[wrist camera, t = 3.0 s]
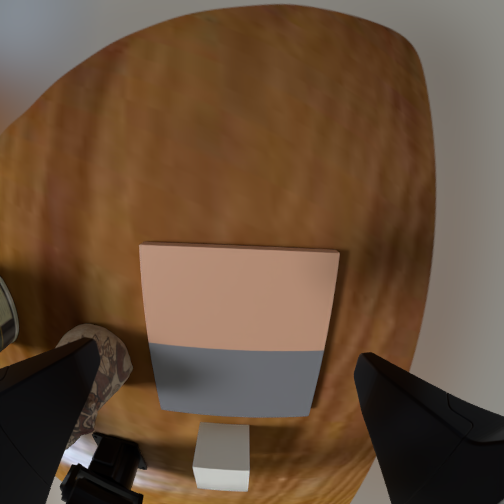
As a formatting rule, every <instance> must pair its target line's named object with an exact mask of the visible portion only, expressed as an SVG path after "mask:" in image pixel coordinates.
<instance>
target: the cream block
mask: <svg viewBox="0 0 504 504" xmlns="http://www.w3.org/2000/svg"><path fill="white" fill-rule="evenodd" d="M193 471H194V475H195V479H196V483H197V487H198V488H201V489H211V490H224V491H248V483H249V472H250V454H249V425H235V424H217V423H205V422H200V426H199V432H198V437H197V443H196V449H195V455H194V461H193Z"/></svg>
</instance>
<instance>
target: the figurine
mask: <svg viewBox="0 0 504 504" xmlns="http://www.w3.org/2000/svg"><path fill="white" fill-rule="evenodd" d="M83 337H88V338H93V339H95V340H96V342H97V346H98V350H99V354H100V358H101V363H100V366H99V369H98V372H97V374H96V377H95V380H94V383H93V386H92V389H91V392H90V394H89V397H88V399H87V401H86V403H85V406H84V408H83V410H82V412H81V414H80V416H79V419H78V421H77V423H76V425H75V428H74V430H73V432H72V435H71V437H70V439H69V442H68V444H67V446H66V449H68V448H69V447H70V446H71V445H73V444H74V443H75V442H76V440H78V439H79V438H80V436H81V435H84V434H88V433H90V432H92V431H93V430H94V425H95V424H94V422H95V420H96V416H97V411H98V410H99V409H100V408H101V407H102V406H103V405H104V404H105V403H106V402H107V401H108V400H109V399H110V398H111V397H112V396H113V395H114V393H116V392H117V391H118V390H119V389H120V387H121V386H122V385H123V384H124V382H125V381H126V380H127V379H128V378H129V375H130V373H131V372H132V369H133V366H132V363H131V360H130V356H129V354H128V350H127V348H126V346H125V344H124V343H123V342H122V341H121V340H120V338H118V337H117V336H116V335H115V334H113V333H112V332H111V331H109V330H107V329H106V328H103V327H101V326H97V325H93V324H87V323H86V324H81V325H78V326H76V327H74V328H73V329H71V330H70V331H68V332H67V333H66V334H65V335H64V336H63V337H62V338H61V340H60V341H59V343H58V345H57V346H56V347H55V348H57V347H60V346H62V345H65V344H68V343H70V342H73V341H75V340H78V339H81V338H83ZM66 449H65V450H66Z"/></svg>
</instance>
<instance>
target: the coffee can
mask: <svg viewBox="0 0 504 504" xmlns="http://www.w3.org/2000/svg"><path fill="white" fill-rule="evenodd" d="M18 333H19V321H18V315H17V311H16V308H15V304H14V301H13V299H12V296H11V294H10V292H9V290H8V288H7V286H6V284H5V282H4V281H3V279H2V278H1V277H0V352H1V351H2V350H3V349H4V348H6V347H7V346H8V345H9V344H10V343H12V342H14V341H15V340H16V339H17V336H18Z"/></svg>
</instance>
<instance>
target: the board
mask: <svg viewBox="0 0 504 504" xmlns="http://www.w3.org/2000/svg"><path fill="white" fill-rule="evenodd" d="M139 251H140V268H141V281H142V292H143V302H144V311H145V319H146V327H147V334H148V341H149V348H150V354H151V360H152V366H153V371H154V377H155V382H156V387H157V392H158V396H159V401H160V406H161V409H163V410H169V411H177V412H184V413H193V414H203V415H215V416H231V417H299V416H308V415H309V412H310V408H311V404H312V400H313V396H314V392H315V388H316V384H317V380H318V375H319V371H320V366H321V362H322V357H323V352H324V348H325V343H326V338H327V332H328V327H329V322H330V316H331V310H332V304H333V298H334V292H335V285H336V278H337V271H338V264H339V256H340V253H339V252H338V251H337V250H331V249H309V248H287V247H264V246H241V245H216V244H191V243H165V242H143V243H141V244H140V245H139Z"/></svg>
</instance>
